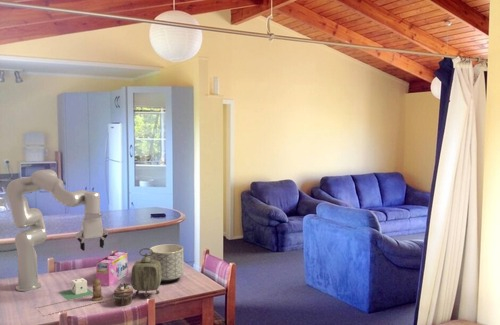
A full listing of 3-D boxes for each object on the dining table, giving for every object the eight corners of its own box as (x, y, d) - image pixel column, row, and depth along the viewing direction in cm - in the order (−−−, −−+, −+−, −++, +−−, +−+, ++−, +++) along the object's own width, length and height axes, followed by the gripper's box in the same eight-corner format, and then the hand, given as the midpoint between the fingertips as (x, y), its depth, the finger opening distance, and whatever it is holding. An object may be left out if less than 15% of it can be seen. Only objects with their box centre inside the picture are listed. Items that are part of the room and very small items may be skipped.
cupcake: (125, 298, 241) (124, 279, 240) (136, 302, 235) (136, 283, 234) (108, 303, 234) (108, 284, 233) (120, 308, 228) (120, 288, 227)
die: (71, 291, 250) (71, 280, 249) (83, 289, 254) (82, 278, 253) (75, 294, 245) (75, 283, 245) (87, 292, 249) (87, 280, 249)
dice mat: (58, 292, 249) (58, 292, 249) (85, 287, 257) (85, 286, 257) (67, 300, 238) (67, 300, 238) (94, 294, 247) (94, 293, 247)
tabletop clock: (162, 292, 250) (161, 246, 248) (159, 298, 241) (158, 250, 239) (134, 292, 249) (133, 246, 247) (130, 299, 240) (129, 250, 238)
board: (35, 308, 227) (35, 307, 227) (101, 293, 248) (101, 292, 248) (43, 316, 218) (43, 316, 218) (111, 300, 239) (111, 299, 239)
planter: (187, 274, 279) (186, 244, 277) (179, 285, 260) (178, 253, 259) (155, 273, 281) (155, 243, 279) (145, 284, 262) (145, 252, 260)
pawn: (90, 299, 239) (89, 278, 239) (100, 296, 243) (99, 276, 242) (94, 302, 235) (93, 281, 234) (104, 299, 239) (103, 279, 238)
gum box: (117, 272, 283) (117, 250, 282) (129, 273, 281) (129, 251, 280) (96, 286, 260) (95, 261, 259) (109, 287, 258) (108, 262, 257)
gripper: (105, 213, 250) (105, 244, 252) (72, 216, 240) (72, 249, 241) (111, 215, 244) (111, 247, 246) (77, 219, 234) (77, 252, 235)
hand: (92, 248), depth 244 cm, fingers open, 9 cm apart
